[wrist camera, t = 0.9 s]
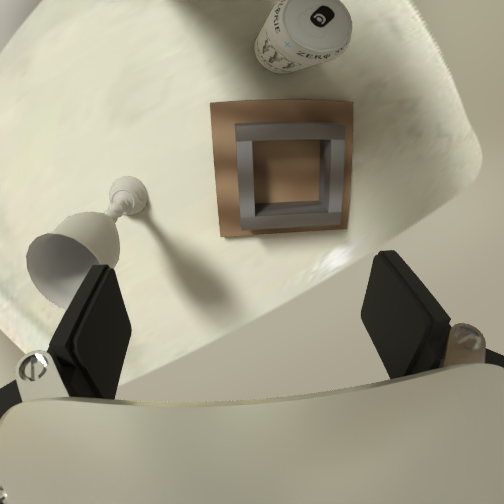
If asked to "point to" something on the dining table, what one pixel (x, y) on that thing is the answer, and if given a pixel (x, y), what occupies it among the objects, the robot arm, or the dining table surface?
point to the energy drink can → (303, 34)
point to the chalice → (82, 244)
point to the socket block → (282, 165)
